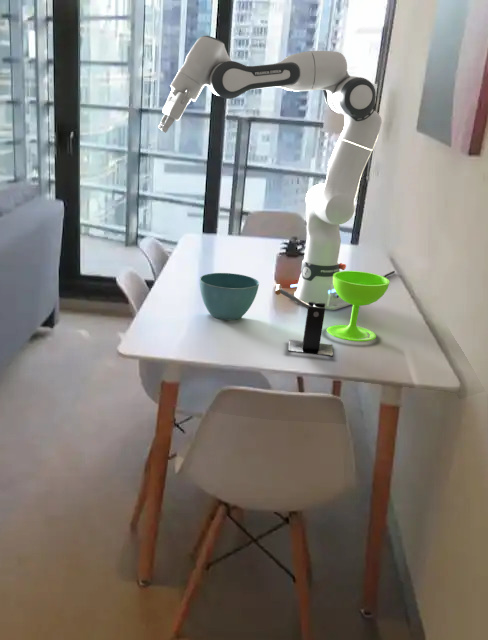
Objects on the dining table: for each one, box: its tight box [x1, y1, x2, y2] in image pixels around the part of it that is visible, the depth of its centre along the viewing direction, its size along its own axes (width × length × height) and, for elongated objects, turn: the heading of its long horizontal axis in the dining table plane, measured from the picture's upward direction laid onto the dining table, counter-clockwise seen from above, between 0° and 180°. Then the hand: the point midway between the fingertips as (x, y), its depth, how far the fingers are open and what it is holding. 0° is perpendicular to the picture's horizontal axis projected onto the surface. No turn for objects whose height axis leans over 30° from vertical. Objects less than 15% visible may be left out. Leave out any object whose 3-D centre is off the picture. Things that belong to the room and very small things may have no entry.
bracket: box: [287, 302, 334, 357], centre depth 199 cm, size 12×9×14 cm
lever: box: [274, 283, 318, 310], centre depth 197 cm, size 14×6×2 cm, turn 77°
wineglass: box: [326, 270, 391, 342], centre depth 212 cm, size 16×16×18 cm
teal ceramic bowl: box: [199, 272, 260, 321], centre depth 224 cm, size 18×18×12 cm
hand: (161, 130), depth 221 cm, fingers open, 8 cm apart
